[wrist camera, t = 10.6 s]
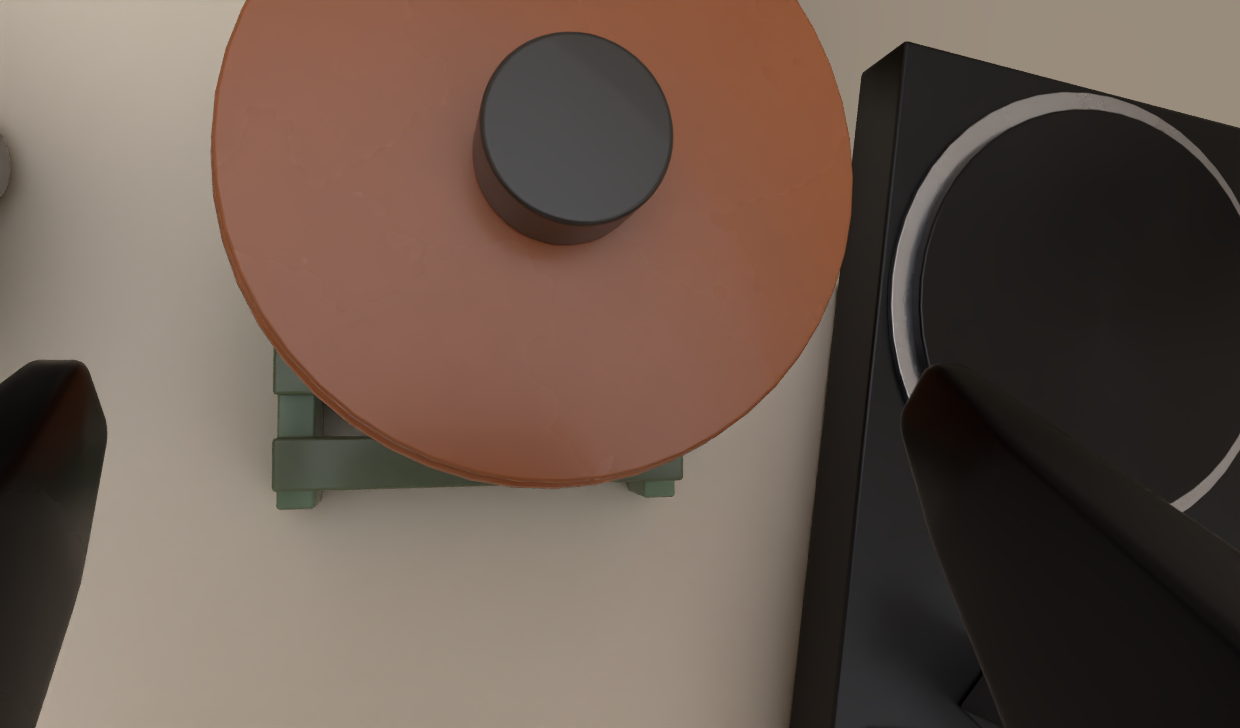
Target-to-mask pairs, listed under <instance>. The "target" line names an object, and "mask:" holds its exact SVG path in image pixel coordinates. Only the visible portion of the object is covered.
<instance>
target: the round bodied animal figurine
mask: <svg viewBox="0 0 1240 728" xmlns="http://www.w3.org/2000/svg"><path fill="white" fill-rule="evenodd" d="M10 174H11V165H10V157H9V152H8V149H7V146H6V143H5V141H4V139H3V137H2V135H1V133H0V198H1V196H2V195H3V193H4V192H5V190H6V188H7V186H8V183H9V179H10Z"/></svg>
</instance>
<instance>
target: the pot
mask: <svg viewBox="0 0 1240 728" xmlns="http://www.w3.org/2000/svg"><path fill="white" fill-rule="evenodd" d="M211 167H212V185H213V198H214V203H215V208H216V213H217V218H218V223H219V228H220V233H221V238H222V242H223V245H224V248H225V250H226V253H227V256H228V259H229V262H230V265H231V268H232V270H233V273H234V276H235V279H236V282H237V284H238V286H239V288H240V290H241V292H242V294H243V296H244V298H245V300H246V302H247V304H248V306H249V308H250V310H251V312H252V314H253V315H254V317H255V319H256V321H257V323H258V325H259V326H260V328H261V329H262V331H263V332H264V334H265V335H266V336H267V338H268V339H269V341H270V342H271V344H272V345H273V346H274V348H275V349H276V351H277V352H278V354H279V355H280V356H281V358H282V359H283V361H284V362H285V363H286V364H287V365H288V367H289V368H290V369H291V370H292V371H293V372H294V373H295V374H296V375H297V376H298V377H299V378H300V380H301V381H302V382H303V383H304V384H305V385H306V386H307V387H308V388H309V389H310V390H311V392H312V393H313V394H314V395H315V396H316V397H317V398H319V399H320V400H321V401H322V402H323V403H325V404H326V405H327V406H328V407H329V408H331V409H332V410H333V411H334V412H335V413H337V414H338V415H339V416H340V417H341V418H343V419H344V420H345V421H346V422H347V423H349V424H350V425H351V426H353V427H355V428H356V429H358V430H359V431H361V432H362V433H364V434H366V435H367V436H369V437H370V438H372V439H374V440H375V441H377V442H378V443H380V444H381V445H383V446H385V447H386V448H388V449H390V450H392V451H394V452H396V453H398V454H401V455H403V456H405V457H407V458H409V459H412V460H414V461H416V462H418V463H420V464H422V465H425V466H427V467H429V468H432V469H436V470H439V471H442V472H445V473H448V474H452V475H455V476H458V477H461V478H465V479H468V480H472V481H478V482H484V483H489V484H495V485H501V486H507V487H515V488H542V489H559V488H569V487H580V486H590V485H597V484H602V483H606V482H610V481H615V480H619V479H623V478H627V477H632V476H635V475H638V474H641V473H643V472H646V471H649V470H651V469H654V468H657V467H659V466H662V465H664V464H667V463H670V462H672V461H674V460H676V459H678V458H680V457H681V456H683V455H685V454H687V453H689V452H691V451H692V450H694V449H696V448H698V447H700V446H702V445H703V444H705V443H707V442H708V441H710V440H711V439H713V438H714V437H716V436H717V435H719V434H720V433H722V432H723V431H724V430H726V429H727V428H728V427H730V426H731V425H733V424H734V423H735V422H737V421H738V420H739V419H741V418H742V417H743V416H745V415H746V414H748V413H749V412H750V411H751V410H752V409H753V408H754V407H755V406H756V405H757V404H758V403H759V402H760V401H761V400H762V399H763V398H764V397H765V396H766V395H767V394H768V393H769V392H770V391H771V390H773V389H774V388H775V387H776V385H777V384H778V383H779V382H780V380H781V379H782V378H783V377H784V375H785V374H786V373H787V371H788V370H789V369H790V368H791V366H792V365H793V364H794V363H795V361H796V360H797V359H798V358H799V356H800V355H801V353H802V351H803V350H804V348H805V346H806V345H807V343H808V341H809V340H810V338H811V336H812V335H813V333H814V331H815V330H816V328H817V326H818V325H819V323H820V320H821V318H822V316H823V313H824V311H825V309H826V307H827V304H828V302H829V300H830V298H831V295H832V293H833V291H834V288H835V285H836V281H837V278H838V275H839V271H840V268H841V265H842V261H843V258H844V254H845V250H846V244H847V238H848V231H849V225H850V219H851V208H852V183H853V174H852V161H851V150H850V138H849V133H848V128H847V123H846V118H845V113H844V108H843V103H842V99H841V96H840V93H839V90H838V87H837V84H836V81H835V77H834V74H833V71H832V68H831V65H830V63H829V60H828V58H827V56H826V54H825V52H824V49H823V47H822V45H821V43H820V41H819V39H818V37H817V34H816V32H815V30H814V28H813V26H812V24H811V23H810V21H809V19H808V18H807V16H806V15H805V13H804V11H803V10H802V8H801V6H800V5H799V3H798V1H797V0H246V2H245V4H244V6H243V7H242V9H241V12H240V14H239V17H238V19H237V22H236V24H235V27H234V29H233V32H232V34H231V37H230V39H229V42H228V44H227V47H226V49H225V53H224V58H223V62H222V66H221V70H220V74H219V78H218V83H217V87H216V91H215V100H214V111H213V122H212V133H211Z"/></svg>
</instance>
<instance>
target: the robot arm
mask: <svg viewBox="0 0 1240 728" xmlns="http://www.w3.org/2000/svg"><path fill="white" fill-rule="evenodd" d="M900 430H901V435H902V438H903V442H904V445H905V449H906V453H907V456H908V460H909V464H910V467H911V471H912V475H913V478H914V482H915V485H916V489H917V493H918V496H919V500H920V504H921V507H922V511H923V515H924V518H925V522H926V525H927V528H928V532H929V535H930V538H931V541H932V544H933V547H934V549H935V552H936V555H937V558H938V560H939V563H940V565H941V568H942V570H943V573H944V576H945V578H946V581H947V583H948V586H949V588H950V591H951V593H952V596H953V598H954V601H955V604H956V606H957V609H958V611H959V614H960V616H961V619H962V621H963V624H964V626H965V629H966V631H967V634H968V637H969V639H970V642H971V644H972V647H973V649H974V652H975V654H976V657H977V659H978V662H979V664H980V667H981V670H982V672H983V675H984V677H985V680H986V682H987V685H988V687H989V690H990V692H991V695H992V698H993V700H994V703H995V705H996V708H997V710H998V713H999V715H1000V718H1001V720H1002V723H1003V725H1004V728H1240V551H1239V550H1237V549H1236V548H1234V547H1233V546H1231V545H1230V544H1228V543H1227V542H1225V541H1224V540H1222V539H1221V538H1219V537H1218V536H1216V535H1215V534H1214V533H1212V532H1211V531H1209V530H1208V529H1206V528H1205V527H1203V526H1202V525H1200V524H1199V523H1197V522H1196V521H1194V520H1193V519H1191V518H1190V517H1188V516H1187V515H1185V514H1184V513H1182V512H1181V511H1179V510H1178V509H1177V508H1175V507H1174V506H1172V505H1171V504H1169V503H1168V502H1166V501H1165V500H1163V499H1162V498H1160V497H1159V496H1157V495H1156V494H1154V493H1153V492H1151V491H1150V490H1148V489H1147V488H1145V487H1144V486H1143V485H1141V484H1140V483H1138V482H1137V481H1135V480H1134V479H1132V478H1131V477H1129V476H1128V475H1126V474H1125V473H1123V472H1122V471H1120V470H1119V469H1117V468H1116V467H1114V466H1113V465H1111V464H1110V463H1109V462H1107V461H1106V460H1104V459H1103V458H1101V457H1100V456H1098V455H1097V454H1095V453H1094V452H1092V451H1091V450H1089V449H1088V448H1086V447H1085V446H1083V445H1082V444H1080V443H1079V442H1077V441H1076V440H1075V439H1073V438H1072V437H1070V436H1069V435H1067V434H1066V433H1064V432H1063V431H1061V430H1060V429H1058V428H1057V427H1055V426H1054V425H1052V424H1051V423H1049V422H1048V421H1046V420H1045V419H1044V418H1042V417H1041V416H1039V415H1038V414H1036V413H1035V412H1033V411H1032V410H1030V409H1029V408H1027V407H1026V406H1024V405H1023V404H1021V403H1020V402H1018V401H1017V400H1015V399H1014V398H1012V397H1011V396H1010V395H1008V394H1007V393H1005V392H1004V391H1002V390H1001V389H999V388H998V387H996V386H995V385H993V384H992V383H990V382H989V381H987V380H986V379H984V378H983V377H981V376H980V375H979V374H977V373H976V372H974V371H973V370H971V369H970V368H968V367H966V366H964V365H960V364H934V365H930V366H929V367H928V368H926V369H925V370H924V372H923V373H922V375H921V377H920V379H919V380H918V382H917V384H916V386H915V388H914V390H913V391H912V393H911V395H910V397H909V399H908V401H907V402H906V404H905V406H904V408H903V410H902V413H901V417H900ZM106 444H107V425H106V419H105V416H104V413H103V410H102V407H101V404H100V401H99V399H98V396H97V393H96V390H95V387H94V384H93V381H92V378H91V375H90V372H89V370H88V368H87V367H86V366H85V364H84V363H82V362H80V361H77V360H36V361H32V362H30V363H28V364H26V365H25V366H23V367H22V368H21V369H19V370H18V371H17V372H15V373H14V374H13V375H11V376H10V377H9V378H7V379H6V380H5V381H3V382H2V383H1V384H0V728H35V727H36V724H37V721H38V718H39V714H40V711H41V708H42V705H43V702H44V699H45V696H46V693H47V690H48V686H49V683H50V680H51V677H52V674H53V671H54V668H55V665H56V661H57V658H58V655H59V652H60V649H61V646H62V643H63V640H64V637H65V633H66V630H67V627H68V624H69V621H70V618H71V615H72V612H73V609H74V605H75V602H76V598H77V595H78V591H79V588H80V584H81V580H82V575H83V570H84V565H85V560H86V555H87V549H88V544H89V538H90V533H91V527H92V522H93V516H94V511H95V505H96V500H97V494H98V488H99V483H100V477H101V472H102V466H103V461H104V455H105V450H106Z"/></svg>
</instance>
